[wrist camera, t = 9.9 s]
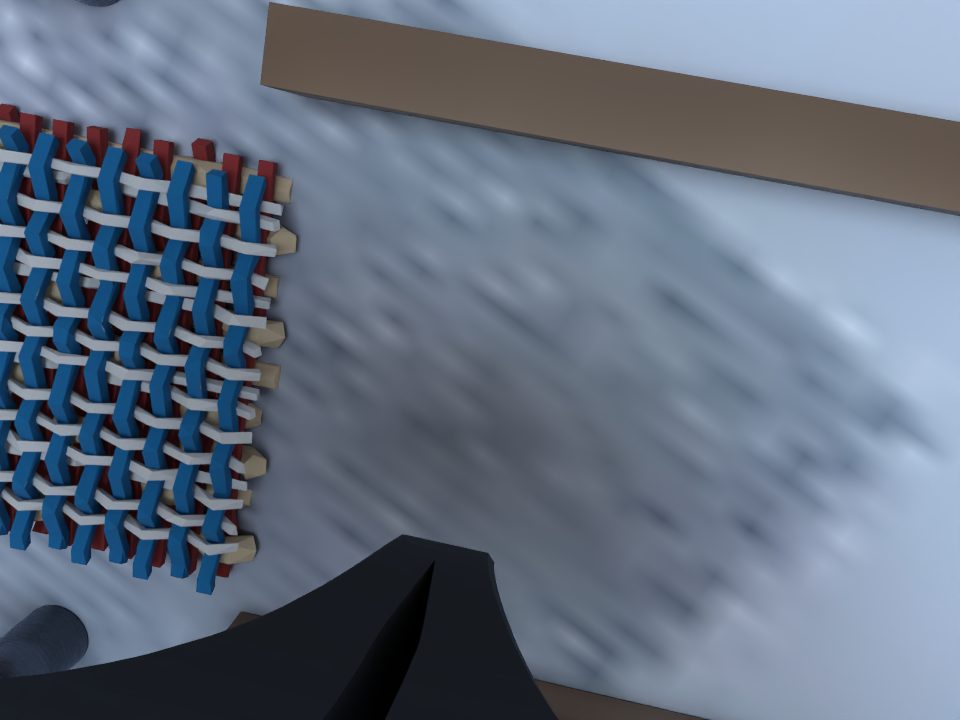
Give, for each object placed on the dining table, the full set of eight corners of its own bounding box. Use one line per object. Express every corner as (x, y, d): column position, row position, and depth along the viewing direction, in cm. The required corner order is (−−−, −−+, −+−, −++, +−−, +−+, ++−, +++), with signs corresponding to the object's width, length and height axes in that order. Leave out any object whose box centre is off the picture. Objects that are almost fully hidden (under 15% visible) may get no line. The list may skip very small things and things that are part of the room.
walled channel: (846, 806, 21) (881, 891, 18) (234, 661, 22) (191, 723, 19) (1069, 157, 17) (1152, 155, 14) (311, 24, 18) (268, 2, 15)
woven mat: (320, 160, 19) (290, 159, 17) (264, 568, 22) (233, 608, 20) (-97, 78, 20) (-172, 67, 18) (-104, 482, 22) (-169, 512, 20)
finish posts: (85, 672, 22) (-51, 810, 18) (24, 657, 23) (-129, 790, 18) (137, -75, 18) (-28, -167, 13) (59, -88, 18) (-133, -184, 13)
